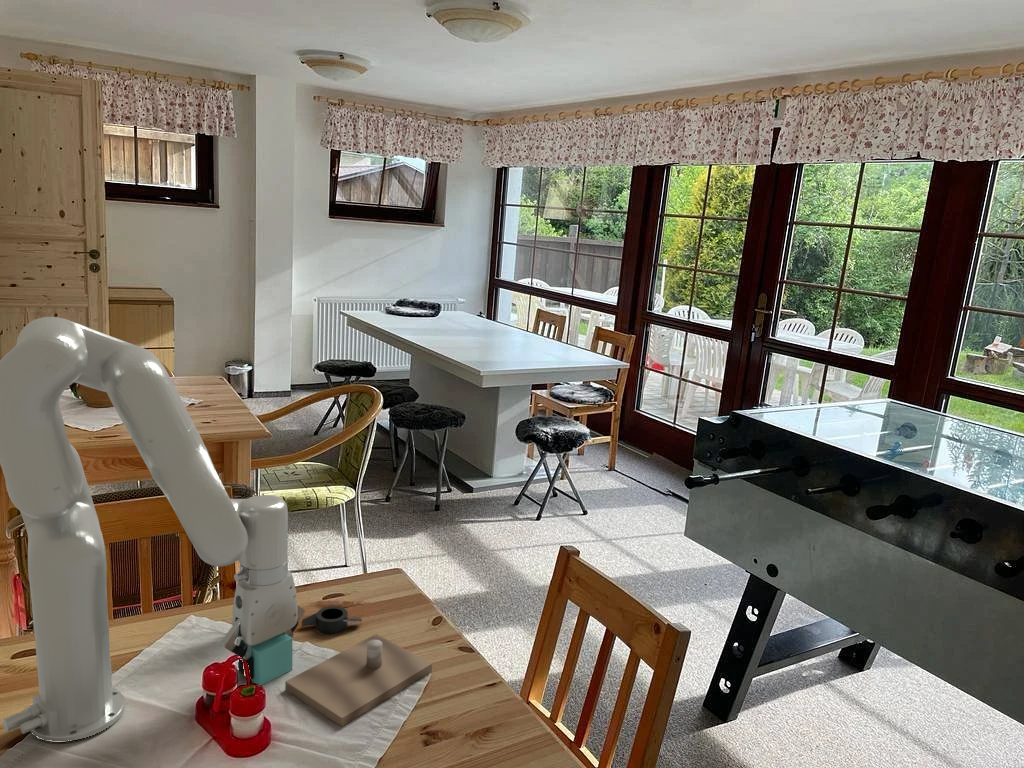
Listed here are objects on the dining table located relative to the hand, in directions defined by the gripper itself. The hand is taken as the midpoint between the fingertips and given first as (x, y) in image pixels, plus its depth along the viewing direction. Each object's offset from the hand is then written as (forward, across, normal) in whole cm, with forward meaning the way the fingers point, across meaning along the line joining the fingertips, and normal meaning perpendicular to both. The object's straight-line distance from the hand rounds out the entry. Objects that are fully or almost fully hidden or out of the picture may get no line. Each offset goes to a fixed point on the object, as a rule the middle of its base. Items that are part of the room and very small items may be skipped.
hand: (265, 666), depth 132 cm
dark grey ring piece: (+1, +17, +3) cm, 17 cm away
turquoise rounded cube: (+1, 0, 0) cm, 1 cm away
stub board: (+1, +9, -14) cm, 17 cm away
